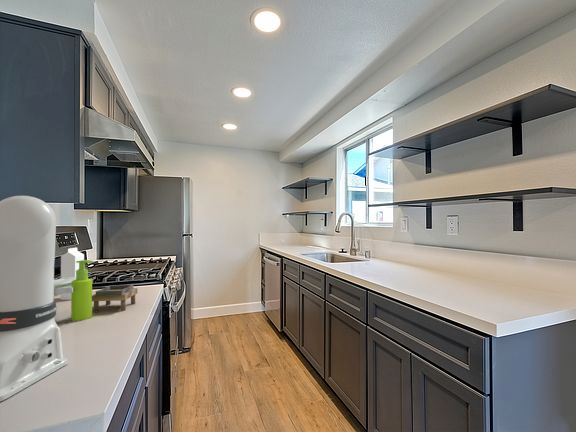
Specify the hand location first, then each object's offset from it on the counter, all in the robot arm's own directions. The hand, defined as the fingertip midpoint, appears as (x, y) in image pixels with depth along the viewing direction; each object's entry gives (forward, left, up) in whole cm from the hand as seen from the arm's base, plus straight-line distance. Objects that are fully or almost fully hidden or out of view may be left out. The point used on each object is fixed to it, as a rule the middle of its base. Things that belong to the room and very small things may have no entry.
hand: (82, 286), depth 101 cm
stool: (+12, -5, -11) cm, 17 cm away
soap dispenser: (0, 0, -11) cm, 11 cm away
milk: (+29, +21, -11) cm, 37 cm away
